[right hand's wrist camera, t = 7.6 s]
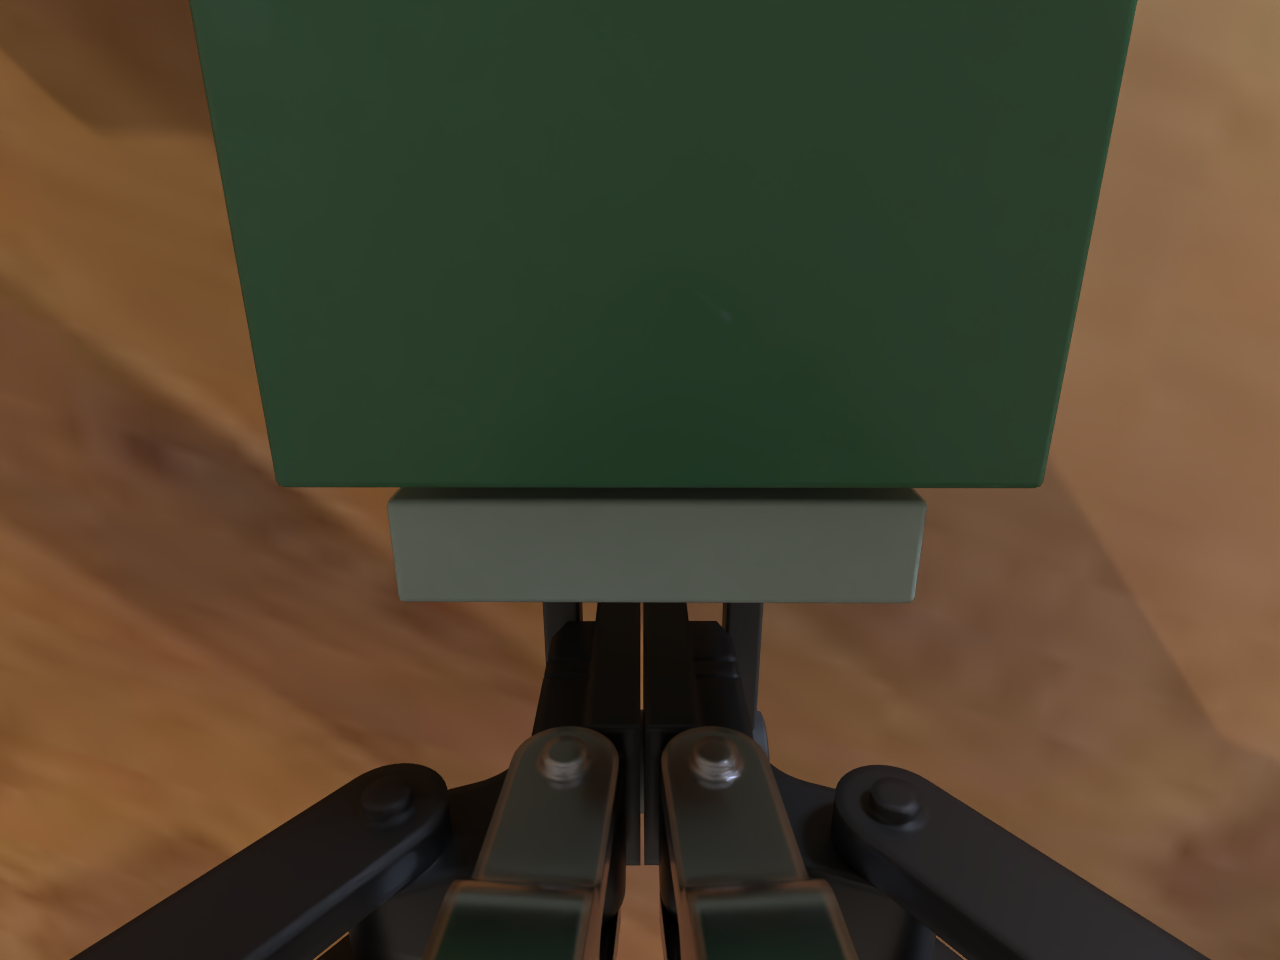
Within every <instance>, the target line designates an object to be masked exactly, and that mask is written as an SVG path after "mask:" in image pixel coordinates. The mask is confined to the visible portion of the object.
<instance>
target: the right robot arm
mask: <svg viewBox="0 0 1280 960" xmlns="http://www.w3.org/2000/svg"><path fill="white" fill-rule="evenodd" d="M643 729H644V865H659V879H660V930H661V939H662V948H663V957H664V960H963V959H962V958H961V957H960V956H958V955H957V954H956V953H955V952H953V951H952V950H951V949H950V948H948V947H947V946H946V945H945V944H943V943H942V942H941V941H940V940H938V939H937V938H936V935H937V936H938V937H940V938H941V939H942V940H943V941H945V942H946V943H947V944H949V945H950V946H951V947H952V948H954V949H955V950H956V951H957V952H959V953H960V954H961V955H962V956H964V957H965V958H966V959H967V960H1210V959H1209V958H1207V957H1205V956H1204V955H1202V954H1201V953H1199V952H1198V951H1196V950H1194V949H1193V948H1191V947H1190V946H1188V945H1187V944H1185V943H1183V942H1182V941H1180V940H1179V939H1177V938H1176V937H1174V936H1172V935H1171V934H1169V933H1168V932H1166V931H1164V930H1163V929H1161V928H1160V927H1158V926H1157V925H1155V924H1153V923H1152V922H1150V921H1149V920H1147V919H1146V918H1144V917H1142V916H1141V915H1139V914H1138V913H1136V912H1135V911H1133V910H1131V909H1130V908H1128V907H1127V906H1125V905H1124V904H1122V903H1120V902H1119V901H1117V900H1116V899H1114V898H1112V897H1111V896H1109V895H1108V894H1106V893H1105V892H1103V891H1101V890H1100V889H1098V888H1097V887H1095V886H1094V885H1092V884H1090V883H1089V882H1087V881H1086V880H1084V879H1083V878H1081V877H1079V876H1078V875H1076V874H1075V873H1073V872H1071V871H1070V870H1068V869H1067V868H1065V867H1064V866H1062V865H1060V864H1059V863H1057V862H1056V861H1054V860H1053V859H1051V858H1049V857H1048V856H1046V855H1045V854H1043V853H1042V852H1040V851H1038V850H1037V849H1035V848H1034V847H1032V846H1031V845H1029V844H1027V843H1026V842H1024V841H1023V840H1021V839H1019V838H1018V837H1016V836H1015V835H1013V834H1012V833H1010V832H1008V831H1007V830H1005V829H1004V828H1002V827H1001V826H999V825H997V824H996V823H994V822H993V821H991V820H990V819H988V818H986V817H985V816H983V815H982V814H980V813H979V812H977V811H975V810H974V809H972V808H971V807H969V806H967V805H966V804H964V803H963V802H961V801H960V800H958V799H956V798H955V797H953V796H952V795H950V794H949V793H947V792H945V791H944V790H942V789H941V788H939V787H938V786H936V785H934V784H933V783H931V782H930V781H928V780H926V779H925V778H923V777H921V776H919V775H917V774H915V773H913V772H910V771H908V770H904V769H901V768H898V767H893V766H886V765H868V766H863V767H859V768H856V769H853V770H852V771H850V772H848V773H846V774H845V775H844V776H843V777H842V778H841V779H840V781H839V782H838V784H837V787H836V789H834V788H829V787H825V786H821V785H817V784H813V783H809V782H806V781H802V780H799V779H796V778H794V777H792V776H789V775H787V774H785V773H784V772H782V771H780V770H778V769H777V768H776V767H774V766H773V765H771V764H770V763H769V760H768V757H767V755H766V753H765V751H764V750H763V749H762V747H761V746H760V745H759V744H758V743H757V742H756V741H754V737H753V733H752V728H751V723H750V719H749V714H748V709H747V705H746V700H745V695H744V691H743V686H742V681H741V678H740V672H739V667H738V663H737V661H736V653H735V649H734V644H733V639H732V637H731V636H730V635H729V634H728V633H727V632H726V631H725V630H724V629H723V628H722V627H721V626H720V625H719V623H718V622H717V621H688V612H687V604H686V602H643ZM626 865H640V602H598V603H597V613H596V621H567V622H566V623H565V625H564V626H563V627H562V628H561V629H560V630H559V631H558V632H557V633H556V634H555V635H554V636H553V637H552V640H551V644H550V649H549V654H548V662H547V664H546V669H545V674H544V678H543V683H542V688H541V693H540V698H539V703H538V708H537V712H536V717H535V722H534V727H533V732H532V736H531V737H530V738H529V739H527V740H526V741H524V742H523V743H522V744H521V745H520V746H519V748H518V749H517V750H516V752H515V753H514V755H513V758H512V760H511V763H510V766H509V768H508V769H507V770H506V771H504V772H502V773H500V774H498V775H497V776H494V777H492V778H489V779H487V780H484V781H480V782H477V783H473V784H469V785H465V786H461V787H457V788H453V789H449V790H447V786H446V784H445V781H444V780H443V778H442V777H441V776H440V775H439V774H438V773H437V772H436V771H434V770H432V769H430V768H428V767H425V766H423V765H418V764H410V763H401V764H392V765H387V766H382V767H379V768H376V769H373V770H371V771H368V772H366V773H364V774H362V775H360V776H359V777H357V778H355V779H353V780H352V781H350V782H349V783H347V784H346V785H344V786H342V787H341V788H339V789H338V790H336V791H335V792H333V793H331V794H330V795H328V796H327V797H325V798H324V799H322V800H320V801H319V802H317V803H316V804H314V805H313V806H311V807H309V808H308V809H306V810H305V811H303V812H301V813H300V814H298V815H297V816H295V817H294V818H292V819H290V820H289V821H287V822H286V823H284V824H283V825H281V826H279V827H278V828H276V829H275V830H273V831H272V832H270V833H268V834H267V835H265V836H264V837H262V838H261V839H259V840H257V841H256V842H254V843H253V844H251V845H249V846H248V847H246V848H245V849H243V850H242V851H240V852H238V853H237V854H235V855H234V856H232V857H231V858H229V859H227V860H226V861H224V862H223V863H221V864H220V865H218V866H216V867H215V868H213V869H212V870H210V871H208V872H207V873H205V874H204V875H202V876H201V877H199V878H197V879H196V880H194V881H193V882H191V883H190V884H188V885H186V886H185V887H183V888H182V889H180V890H179V891H177V892H175V893H174V894H172V895H171V896H169V897H168V898H166V899H164V900H163V901H161V902H160V903H158V904H156V905H155V906H153V907H152V908H150V909H149V910H147V911H145V912H144V913H142V914H141V915H139V916H138V917H136V918H134V919H133V920H131V921H130V922H128V923H127V924H125V925H123V926H122V927H120V928H119V929H117V930H116V931H114V932H112V933H111V934H109V935H108V936H106V937H104V938H103V939H101V940H100V941H98V942H97V943H95V944H93V945H92V946H90V947H89V948H87V949H86V950H84V951H82V952H81V953H79V954H78V955H76V956H75V957H73V958H71V959H70V960H313V959H314V958H315V957H316V956H318V955H319V954H320V953H321V952H323V951H324V950H325V949H326V948H328V947H329V946H330V945H331V944H333V943H334V942H335V941H337V940H338V939H339V938H340V937H342V936H343V935H344V934H345V933H347V932H348V931H349V934H348V935H347V936H345V937H344V938H343V939H342V940H340V941H339V942H338V943H337V944H335V945H334V946H333V947H332V948H330V949H329V950H328V951H327V952H325V953H324V954H323V955H322V956H320V957H319V958H318V959H317V960H616V958H617V949H618V940H619V931H620V922H621V905H622V902H623V899H624V896H625V881H626Z"/></svg>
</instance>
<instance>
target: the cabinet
mask: <svg viewBox="0 0 1280 960" xmlns="http://www.w3.org/2000/svg"><path fill="white" fill-rule="evenodd" d="M189 3H190V9H191V14H192V20H193V25H194V31H195V36H196V42H197V47H198V53H199V58H200V64H201V69H202V75H203V80H204V86H205V91H206V97H207V102H208V108H209V113H210V119H211V124H212V130H213V135H214V141H215V146H216V152H217V157H218V163H219V168H220V174H221V179H222V185H223V190H224V196H225V202H226V207H227V213H228V218H229V224H230V229H231V235H232V240H233V246H234V251H235V257H236V262H237V268H238V273H239V279H240V284H241V290H242V295H243V301H244V306H245V312H246V317H247V323H248V328H249V334H250V339H251V345H252V350H253V356H254V361H255V367H256V372H257V378H258V383H259V389H260V394H261V400H262V405H263V411H264V416H265V422H266V428H267V433H268V439H269V444H270V450H271V455H272V461H273V466H274V472H275V477H276V481H277V483H278V485H280V486H283V487H571V488H1036V487H1039V486H1041V484H1042V482H1043V479H1044V474H1045V469H1046V464H1047V459H1048V454H1049V449H1050V444H1051V438H1052V433H1053V428H1054V423H1055V418H1056V413H1057V408H1058V403H1059V398H1060V392H1061V387H1062V382H1063V377H1064V372H1065V367H1066V362H1067V357H1068V352H1069V346H1070V341H1071V336H1072V331H1073V326H1074V321H1075V316H1076V311H1077V306H1078V300H1079V295H1080V290H1081V285H1082V280H1083V275H1084V270H1085V265H1086V260H1087V254H1088V249H1089V244H1090V239H1091V234H1092V229H1093V224H1094V219H1095V214H1096V208H1097V203H1098V198H1099V193H1100V188H1101V183H1102V178H1103V173H1104V168H1105V162H1106V157H1107V152H1108V147H1109V142H1110V137H1111V132H1112V127H1113V122H1114V117H1115V111H1116V106H1117V101H1118V96H1119V91H1120V86H1121V81H1122V76H1123V71H1124V65H1125V60H1126V55H1127V50H1128V45H1129V40H1130V35H1131V30H1132V25H1133V19H1134V14H1135V9H1136V4H1137V0H189Z"/></svg>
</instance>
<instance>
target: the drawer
mask: <svg viewBox="0 0 1280 960" xmlns="http://www.w3.org/2000/svg"><path fill="white" fill-rule="evenodd" d="M387 510H388V518H389V526H390V533H391V541H392V549H393V557H394V565H395V572H396V580H397V588H398V595H399V598H400V600H402V601H405V602H543V616H544V635H545V654H546V664H547V662H548V654H549V649H550V644H551V640H552V637H553V636H554V635H555V634H556V633H557V632H558V631H559V630H560V629H561V628H562V627H563V626H564V625H565V623H566V622H567V621H583V613H582V602H696V603H723V619H722V628H723V629H724V630H725V631H726V632H727V633H728V634H729V635H730V636H731V637H732V639H733V644H734V649H735V653H736V661H737V663H738V667H739V672H740V678H741V681H742V686H743V691H744V695H745V700H746V705H747V709H748V714H749V719H750V723H751V728H752V733H753V737H754V741H756V742H757V743H758V744H759V745H760V746H761V747H762V749H763V750H764V751H765V753H766V755H767V757H768V760H769V750H768V740H767V733H766V727H765V722H764V719H763V716H762V714H761V712H760V711H758V710H757V695H758V679H759V663H760V647H761V630H762V614H763V603H910V602H912V601H913V599H914V597H915V590H916V582H917V575H918V568H919V561H920V554H921V547H922V540H923V533H924V525H925V518H926V511H927V504H926V501H925V500H924V499H923V498H922V497H921V496H920V495H919V494H918V493H917V492H916V491H915V490H914V489H913V488H571V487H400V488H399V489H398V490H397V491H396V493H395V494H394V495H393V496H392V497H391V498H390V499H389V501H388V504H387ZM640 814H644V729H643V710H640Z"/></svg>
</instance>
